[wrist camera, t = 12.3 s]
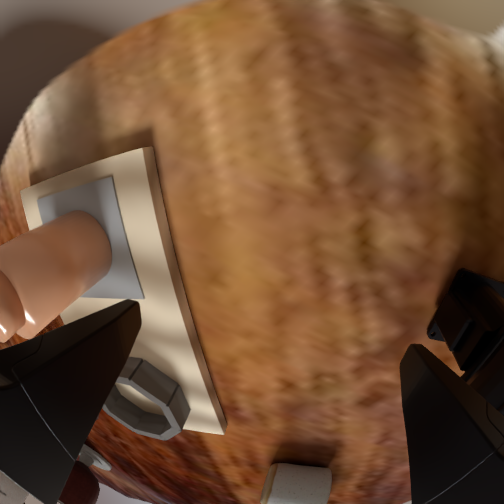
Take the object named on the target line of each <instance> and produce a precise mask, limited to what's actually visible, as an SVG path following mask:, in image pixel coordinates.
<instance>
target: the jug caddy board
mask: <svg viewBox="0 0 504 504" xmlns="http://www.w3.org/2000/svg"><path fill="white" fill-rule="evenodd" d="M20 193H21V198H22V202H23V207H24V211H25V215H26V219H27V223H28V226H29V230H32V229H34V228H36V227H38V226H40V225H42V224H44V223H46V222H49V221H51V220H53V219H55V218H57V217H59V216H61V215H64V214H66V213H68V212H70V211H73V210H81V211H84V212H87V213H88V214H90V215H91V216H93V217H94V218H95V219H96V220H97V221H98V222H99V224H100V225H101V226H102V228H103V230H104V231H105V233H106V235H107V237H108V240H109V243H110V247H111V252H112V263H111V267H110V270H109V272H108V274H107V275H106V276H105V277H104V278H103V279H102V280H100V281H99V282H98V283H97V284H95V285H94V286H93V287H92V288H90V289H89V290H88V291H87V292H85V293H84V294H83V295H82V296H81V297H79V298H78V299H77V300H76V301H75V302H73V303H72V304H71V305H70V306H69V307H67V308H66V309H65V310H64V311H63V312H62V313H60V316H61V318H62V320H63V322H64V324H65V325H66V324H68V323H71V322H73V321H75V320H78V319H80V318H83V317H85V316H87V315H90V314H92V313H95V312H97V311H99V310H102V309H104V308H106V307H109V306H111V305H114V304H116V303H118V302H121V301H123V300H126V299H131V300H135V301H138V302H139V304H140V310H141V318H142V325H141V329H140V331H139V333H138V336H137V338H136V340H135V343H134V345H133V348H132V350H131V353H130V355H129V357H128V360H127V362H126V364H125V366H124V368H123V370H122V372H121V373H120V375H119V377H118V379H117V381H116V383H115V384H114V386H113V388H112V390H111V392H110V394H109V396H108V398H107V399H106V401H105V403H104V405H103V407H102V408H103V410H104V411H106V413H107V414H109V415H110V416H111V417H113V418H114V419H116V420H117V421H118V422H120V423H121V424H123V425H124V426H126V427H127V428H129V429H130V430H132V431H133V432H136V433H138V434H141V435H145V436H149V437H153V438H157V439H161V440H168V439H170V438H171V437H173V436H175V435H176V434H178V433H180V432H181V431H182V429H188V430H194V431H200V432H207V433H214V434H222V435H224V434H225V431H226V428H227V423H226V420H225V418H224V415H223V412H222V409H221V406H220V404H219V401H218V398H217V395H216V392H215V389H214V386H213V383H212V380H211V377H210V374H209V371H208V368H207V365H206V362H205V359H204V356H203V353H202V350H201V346H200V343H199V340H198V337H197V333H196V330H195V326H194V323H193V320H192V316H191V313H190V309H189V306H188V302H187V298H186V295H185V291H184V287H183V283H182V280H181V276H180V272H179V268H178V264H177V260H176V256H175V252H174V248H173V243H172V239H171V235H170V230H169V226H168V222H167V217H166V212H165V208H164V203H163V198H162V193H161V188H160V183H159V178H158V173H157V167H156V162H155V156H154V150H153V146H151V147H144V148H139V149H136V150H132V151H129V152H125V153H122V154H119V155H115V156H112V157H109V158H106V159H103V160H99V161H96V162H93V163H90V164H87V165H85V166H82V167H79V168H76V169H73V170H71V171H68V172H65V173H62V174H60V175H57V176H55V177H52V178H50V179H47V180H45V181H42V182H40V183H37V184H35V185H33V186H30V187H28V188H26V189H23V190H21V191H20Z"/></svg>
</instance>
